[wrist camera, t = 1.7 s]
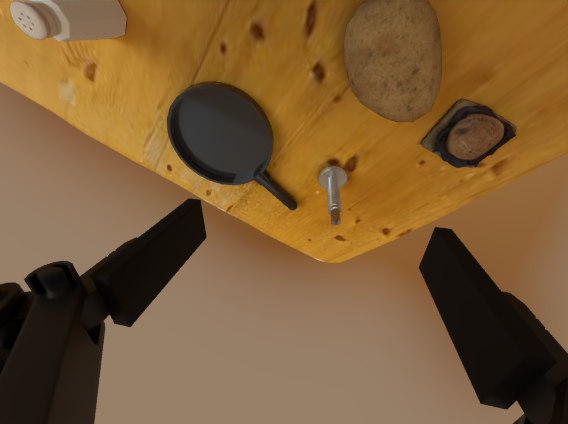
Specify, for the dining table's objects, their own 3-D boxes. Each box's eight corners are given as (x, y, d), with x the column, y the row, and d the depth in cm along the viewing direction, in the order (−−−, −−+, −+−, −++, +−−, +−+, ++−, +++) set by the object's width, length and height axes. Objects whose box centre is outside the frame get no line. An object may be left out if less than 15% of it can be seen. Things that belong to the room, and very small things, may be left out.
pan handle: (253, 173, 43) (251, 179, 42) (261, 167, 42) (259, 172, 40) (292, 207, 48) (291, 213, 47) (300, 202, 47) (299, 209, 45)
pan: (155, 131, 40) (148, 137, 38) (210, 52, 31) (205, 55, 29) (232, 192, 48) (229, 198, 46) (294, 143, 39) (293, 149, 37)
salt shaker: (115, 48, 32) (48, 68, 24) (74, 4, 29) (-18, 11, 21) (136, 19, 29) (69, 31, 21) (93, -32, 26) (-2, -40, 19)
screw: (313, 176, 43) (328, 155, 40) (335, 186, 44) (351, 167, 41) (312, 228, 33) (330, 207, 30) (340, 240, 35) (361, 221, 31)
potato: (373, 123, 35) (384, 150, 29) (321, 33, 28) (322, 45, 23) (446, 78, 30) (475, 100, 24) (403, -44, 23) (430, -54, 18)
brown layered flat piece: (415, 144, 37) (422, 156, 34) (463, 92, 31) (477, 102, 28) (467, 170, 39) (478, 183, 36) (521, 125, 33) (539, 137, 30)
